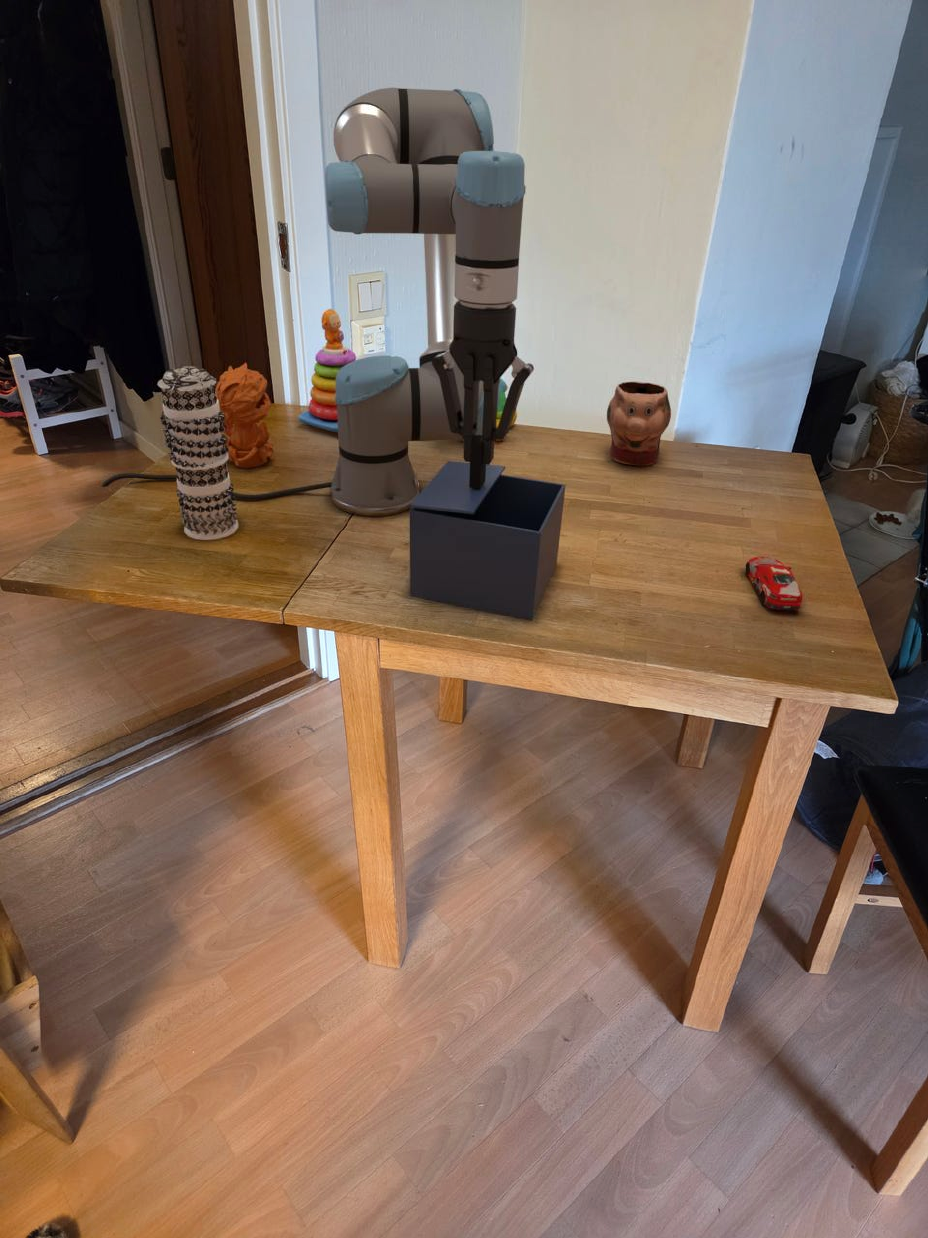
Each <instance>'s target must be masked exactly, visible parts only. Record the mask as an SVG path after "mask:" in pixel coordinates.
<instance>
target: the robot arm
mask: <svg viewBox="0 0 928 1238" xmlns="http://www.w3.org/2000/svg"><path fill="white" fill-rule="evenodd" d="M489 107H490V106H489V104H488V102H487V100H486V99H485V97H484V95H482V94H481V93H479V92H476V91H466V90H462V89H459V88H453V89H452V90H450V89H449V90H446V89H426V88H425V89H423V88H421V89H420V88H401V87H400V88H398V87H386V88H378V89H375V90H371V91H369V92H367V93H364V94H362V95H360V96H358V97H356V98H355V99H353V100H352V101H350V102H349V103H348V104H347V105H345V106H344V108H343V109H342V111H341V112H339V115H338V116H337V118H336V121H335V123H334V127H333V146H334V150H335V154H336V156H337V158H338V160H339V161H340V162H339V161H337V162H329V163H328V164H327V165H326V167H325V170H324V183H325V200H326V201H325V202H326V215H327V224H328V226H329V228H330V229H331V230H332V231H334V232H336V233H337V232H338V233H351V234H354V235H362V234H409V235H410V234H411V235H412V234H413V235H414V234H415V235H418V234H419V235H423V247H424V249H423V251H424V272H425V299H426V302H425V303H426V327H427V328H426V329H427V347H426V349H425V350H424V351H423V352H422V353H421V354H420V355H419V358H418V361H419V363H418V365H419V367H409V364H408V362H407V360H406V359H405V358H403V357H400V356H397V355H395V356H391V355H374V356H368V357H363V358H359V359H356V360H355V361H353V362H351V363H348V364H347V365H345V366H343V367H342V368H341V369H340V370H339V372H338V373H337V375H336V395H335V403H337V420H338V432H337V438H338V439H337V441H338V459H337V464H336V467H335V469H334V474H333V478H332V481H330V482H324V483H317V484H311V485H305V486H300V487H294V488H287V489H283V490H277V491H272V492H267V493H258V494H243V493H237V492H234V491H232V492H233V493H234V497H235V499H238V500H246V501H247V500H248V501H249V500H250V501H253V500H265V499H273V498H277V497H281V496H282V497H283V496H286V495H292V494H296V493H297V494H299V493H305V492H309V491H317V490H322V489H329V488H330V497H331V501H332V503H333V505H335V506H336V507H337V508H338V509H340V510H342V511H344V512H347V513H348V514H349V513H350V514H354V515H357V516H368V517H380V516H381V517H382V516H390V515H395V514H398V513H401V512H402V513H403V512H405V511H407V510H410V509H411V507H410V504H411V503H412V502H413V501H414V500H415V498H416V497H417V496H418V495H419V494H420V487H419V482H418V481H419V476H418V473H417V472H415V470H414V467H413V465H412V462H411V458H410V456H409V442H440V441H441V442H442V441H446V442H447V441H461V442H463V454H462V458H463V461H464V462H466V463H470V477H469V487H470V488H476V489H480V488H481V487H482V485H483V484H484V482H485V477H486V464H487V465H491V463H492V462H493V461H494V457H495V442H496V440H497V439H499V440H501V441H503V440H504V439H505V437H507V435H508V433H509V432H510V429H511V427H512V426H511V423H512V420H513V417H514V414H515V411H516V410H517V407H518V404H519V401H520V398H521V395H522V391H523V390H524V389H523V388H524V386H525V383H526V381H527V380H528V378H529V377H530V376H531V375H532V373H533V372H534V369H535V368H534V365H533V364H532V363H526V362H525V361H524V360H522V359H521V358H520V357H519V356H518V348H517V347H516V344H515V336H516V335H515V334H516V320H517V319H516V318H517V317H516V316H517V307H516V306H515V304H514V302H515V301H517V299H518V288H519V272H520V271H519V269H520V253H521V239H522V238H521V236H522V222H523V211H524V210H523V209H524V197H525V195H526V188H527V187H526V185H525V169H526V168H525V167H526V166H525V159H524V158H523V157H522V155H521V154H519V153H516V152H509V151H498V150H495V149H494V144H495V137H494V136H495V135H494V127H493V119H492V114H491V111H490V108H489ZM510 367H512V370H511V377H512V378H513V380H512V382H511V383H510V386H509V388H508V393H507V396H506V398H507V399H506V402H505V405H504V409H503V412H502V415H501V418H500V422H499V425H498V427H496V421H497V413H498V407H499V400H500V389H501V379H502V378H501V377H502V376H503V375H504V374H505V373H506V371H507V370H508V369H509V368H510ZM500 378H501V379H500ZM502 439H503V440H502ZM123 479H143V480H156V481H157V480H161V481H163V480H168V481H169V480H170V481H171V480H175V481H177V474H149V473H137V472H136V473H135V472H126V473H124V472H123V473H119V474H115V475H113V476H110V477H109V478H108V479H106V480H105V481H104V482H103V483H102V484H101V487H102V488H107V487H109V486H110V485H111V484H112V483H114V482H116V481H119V480H123Z"/></svg>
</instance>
